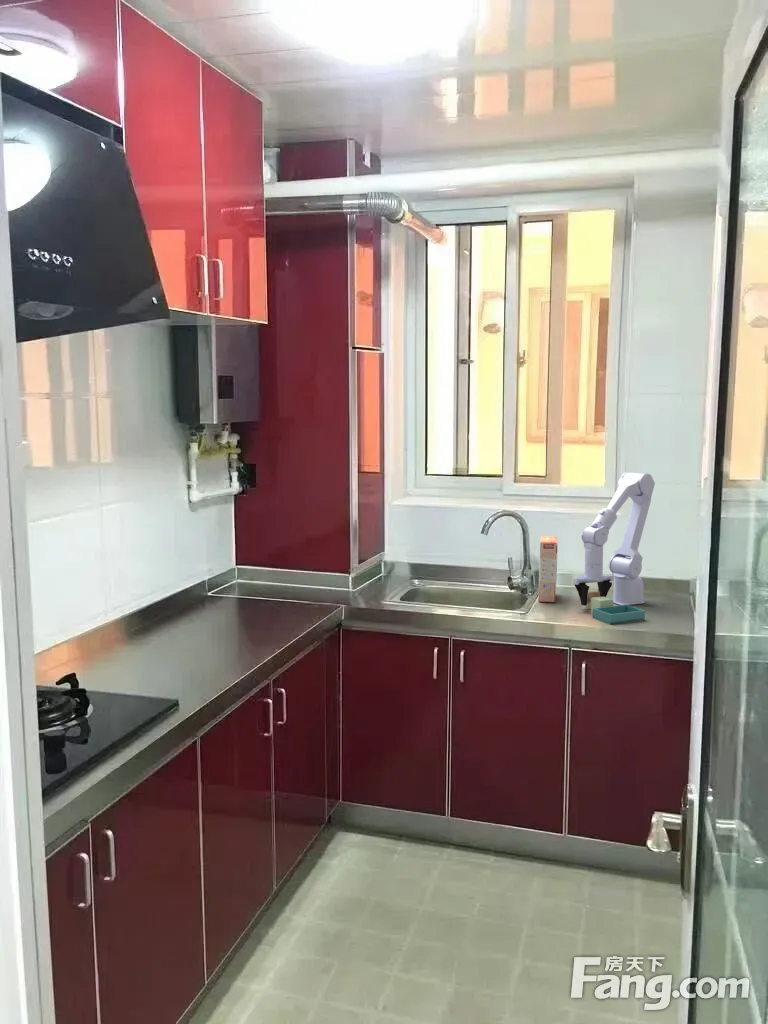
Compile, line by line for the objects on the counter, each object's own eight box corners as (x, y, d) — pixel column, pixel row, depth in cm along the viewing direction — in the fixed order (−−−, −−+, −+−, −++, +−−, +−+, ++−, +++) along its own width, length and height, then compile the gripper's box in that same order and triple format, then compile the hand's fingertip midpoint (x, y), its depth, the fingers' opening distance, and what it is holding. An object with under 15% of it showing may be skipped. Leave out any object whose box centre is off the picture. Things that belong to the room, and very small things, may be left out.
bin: (626, 613, 281) (626, 604, 281) (644, 620, 273) (645, 610, 272) (592, 617, 276) (592, 608, 276) (610, 624, 268) (610, 614, 267)
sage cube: (603, 611, 285) (603, 596, 284) (612, 614, 280) (613, 599, 280) (590, 612, 283) (591, 597, 282) (599, 616, 278) (600, 600, 278)
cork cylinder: (594, 606, 291) (594, 590, 291) (602, 609, 287) (602, 592, 287) (583, 607, 290) (583, 591, 289) (591, 610, 286) (591, 593, 285)
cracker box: (556, 603, 296) (557, 542, 293) (538, 602, 297) (539, 541, 295) (556, 594, 310) (557, 535, 307) (539, 593, 311) (540, 535, 308)
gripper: (582, 567, 280) (581, 608, 282) (619, 563, 286) (618, 604, 287) (569, 563, 287) (568, 604, 288) (606, 560, 292) (605, 600, 294)
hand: (592, 604), depth 288 cm, fingers open, 6 cm apart
